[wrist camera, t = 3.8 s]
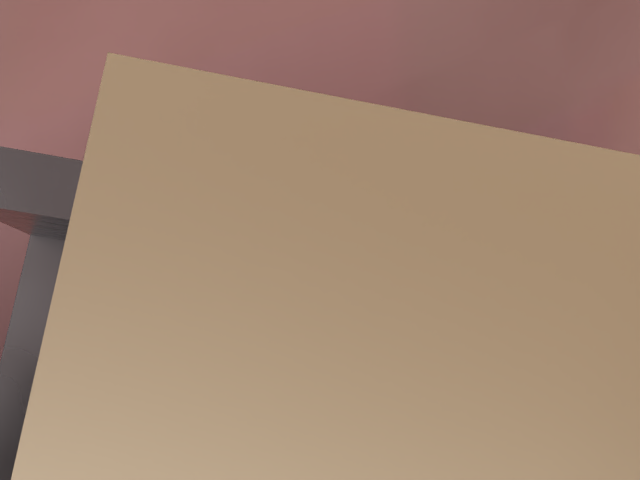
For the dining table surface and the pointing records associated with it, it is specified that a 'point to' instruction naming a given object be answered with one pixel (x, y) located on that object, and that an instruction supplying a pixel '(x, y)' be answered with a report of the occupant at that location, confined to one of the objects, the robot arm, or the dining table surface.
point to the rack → (31, 274)
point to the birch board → (334, 295)
